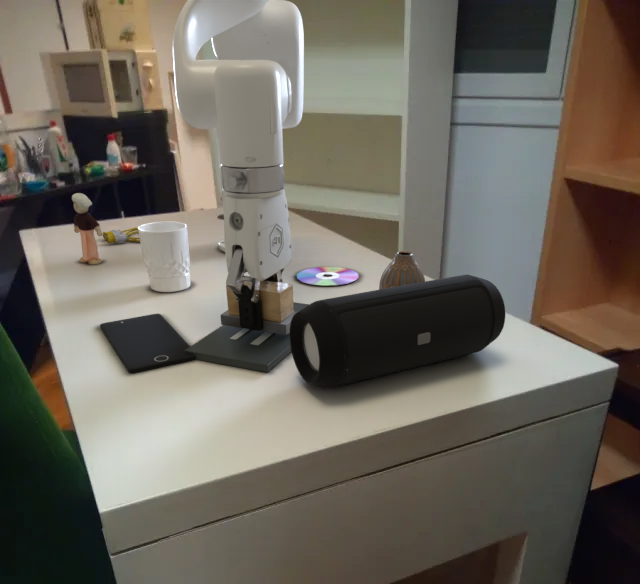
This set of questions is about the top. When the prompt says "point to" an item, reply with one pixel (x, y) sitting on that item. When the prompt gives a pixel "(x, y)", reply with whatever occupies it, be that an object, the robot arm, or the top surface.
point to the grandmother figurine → (86, 229)
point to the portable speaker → (394, 329)
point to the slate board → (244, 347)
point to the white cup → (166, 255)
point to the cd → (317, 278)
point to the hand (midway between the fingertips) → (261, 320)
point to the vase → (401, 271)
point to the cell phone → (146, 343)
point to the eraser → (265, 307)
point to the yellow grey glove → (120, 236)
